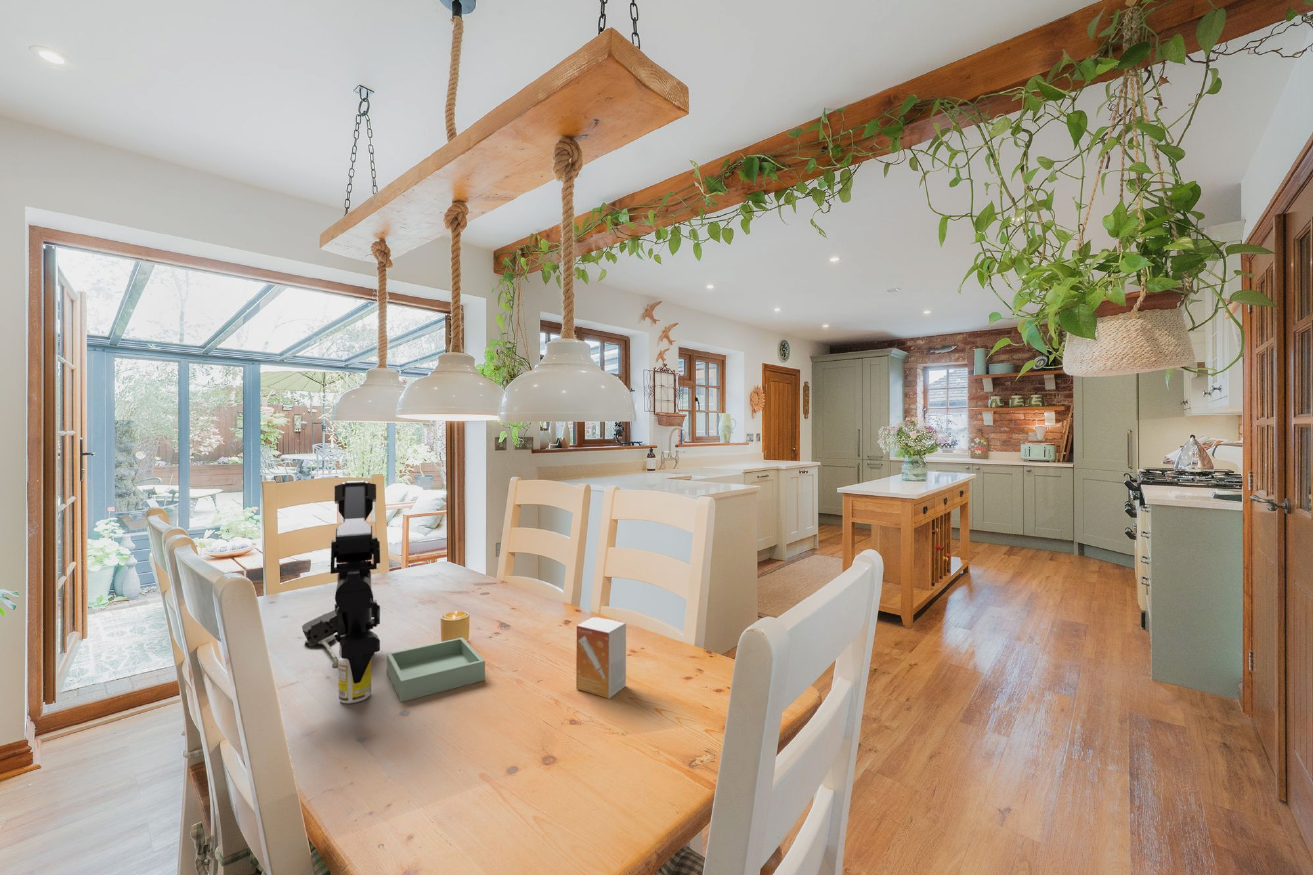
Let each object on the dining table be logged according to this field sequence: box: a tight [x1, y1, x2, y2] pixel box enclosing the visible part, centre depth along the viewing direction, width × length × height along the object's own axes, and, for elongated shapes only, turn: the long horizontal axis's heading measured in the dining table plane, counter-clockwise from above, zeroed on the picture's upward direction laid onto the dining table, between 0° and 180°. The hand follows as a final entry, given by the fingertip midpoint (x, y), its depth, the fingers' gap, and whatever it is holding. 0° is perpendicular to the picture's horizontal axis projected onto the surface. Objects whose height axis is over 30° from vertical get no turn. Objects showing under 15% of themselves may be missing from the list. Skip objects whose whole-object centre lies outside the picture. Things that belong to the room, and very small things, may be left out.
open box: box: [386, 637, 486, 703], centre depth 115 cm, size 16×16×4 cm
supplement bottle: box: [337, 656, 372, 704], centre depth 106 cm, size 6×6×10 cm
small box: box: [575, 616, 627, 700], centre depth 110 cm, size 8×6×13 cm
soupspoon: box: [304, 634, 339, 668], centre depth 128 cm, size 22×3×7 cm
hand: (355, 676), depth 106 cm, fingers closed on supplement bottle, 5 cm apart
